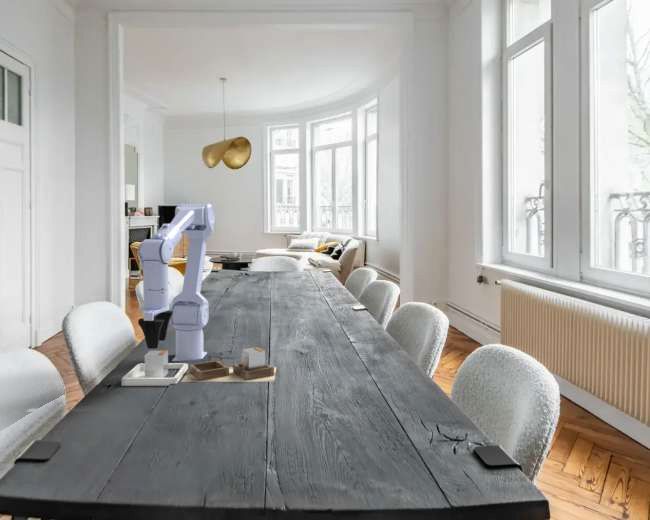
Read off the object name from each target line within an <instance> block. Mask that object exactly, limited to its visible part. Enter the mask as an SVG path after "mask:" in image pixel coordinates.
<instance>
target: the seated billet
mask: <svg viewBox="0 0 650 520" xmlns="http://www.w3.org/2000/svg"><path fill="white" fill-rule="evenodd" d="M241 363H242V368H243V369H245V370H246V371H250V370H256V369H262V368H265V363H266V350H264V349H262V348H261V347H257V346H256V347H250V348H249V347H248V348H242V349H241Z"/></svg>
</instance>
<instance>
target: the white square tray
mask: <svg viewBox="0 0 650 520" xmlns="http://www.w3.org/2000/svg"><path fill="white" fill-rule="evenodd" d="M168 370H178V371H177V373H176V374H175V375H174V376H173V377H164V378H145V362H144V363H142V362H138V364H136V365H135V366H134V367H132V369H130V370H129V371H128V372H127V373H126V374H125V375H124V376H122V378H121V379H120V380H121V386H122V387H123V386H125V387H129V386H130V387H133V386H146V387H147V386H148V387H149V386H150V387H151V386H152V387H154V386H159V387H160V386H170V387H171V385H177V384H178V382H179V381H180V380H181V378H182V377H183V376H184V374H185V373H186V372H187V371H188V370H189V362H186V363H185V362H181V363H180V362H179V363H177V362H172V363H171V362H168Z"/></svg>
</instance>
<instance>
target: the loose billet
mask: <svg viewBox="0 0 650 520" xmlns="http://www.w3.org/2000/svg"><path fill="white" fill-rule="evenodd" d="M144 363H145V378H166V376H167V375H168V374H169V369H168V363H169V350H164V349H163V350H149V351H148V352H146V353H145V354H144Z"/></svg>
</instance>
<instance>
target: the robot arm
mask: <svg viewBox="0 0 650 520" xmlns="http://www.w3.org/2000/svg"><path fill="white" fill-rule="evenodd" d="M215 221H216V213H215V209H214V207H213V205H212V204H211V203H207V204H202V203H200V204H199V203H197V204H195V203H192V204H191V203H179V204H177V206H176V207H175V210H174V217H173V218H172V220H171V222H169V223H162V225H161V227H160V228H159V229H158V230H157V231H156V232H155V233H154V234H153V235H152V236H151V237H150V238H149V239H148V238H146V239H144V240H142V241H141V242H140V243H139V244H138V249H137V257H138V258H137V259H138V260H139V264H140V266H139V267H140V269H141V271H142V281H143V282H142V290H143V295H142V296H143V305H140V306H138V311H143V318H138V320H137V322H138V325H139V326H140V329H141V330H142V333H143V335H144V339H145V343H146V346H147V349H152V350H153V349H155V350H156V349H158V346H159V343H160V341H165V340H166V337H167V332H168V328H169V324H170V325H171V326H173V327H172V328H173V329H175V356H174V358H172V360H171V362H185V361H187V362H188V361H193V360H194V361H195V360H199V359H200V360H201V359H204V357H205V356H206V355H207V354H208V352H207V351H204V331H203V328H204V327H205V326H206V325H207V324H208V322H209V318H210V312H209V301H208V299H206V297H204V296H203V294H201V292H202V291H201V290H202V284H203V283H202V282H203V277H204V276H203V275H204V269H205V261H206V253H207V247H208V240H209V239H208V238H209V237H211V236H213V234H214V229H215ZM182 234H183V235H185V236H186V237H188V238H189V244H188V249H187V256H186V264H185V272H184V275H183V276H184V278H183V283H182V285H183V286H182V290H181V292H180V293H179V294H177V295H176V296H174V297H173V298H172V302H171V306H170V305H169V263H170V262H171V261H172V259H173V253H175V251H174V250H175V247H176V246H177V245H178V244H179V242H180V241H181V240H182V237H183V235H182Z"/></svg>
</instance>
